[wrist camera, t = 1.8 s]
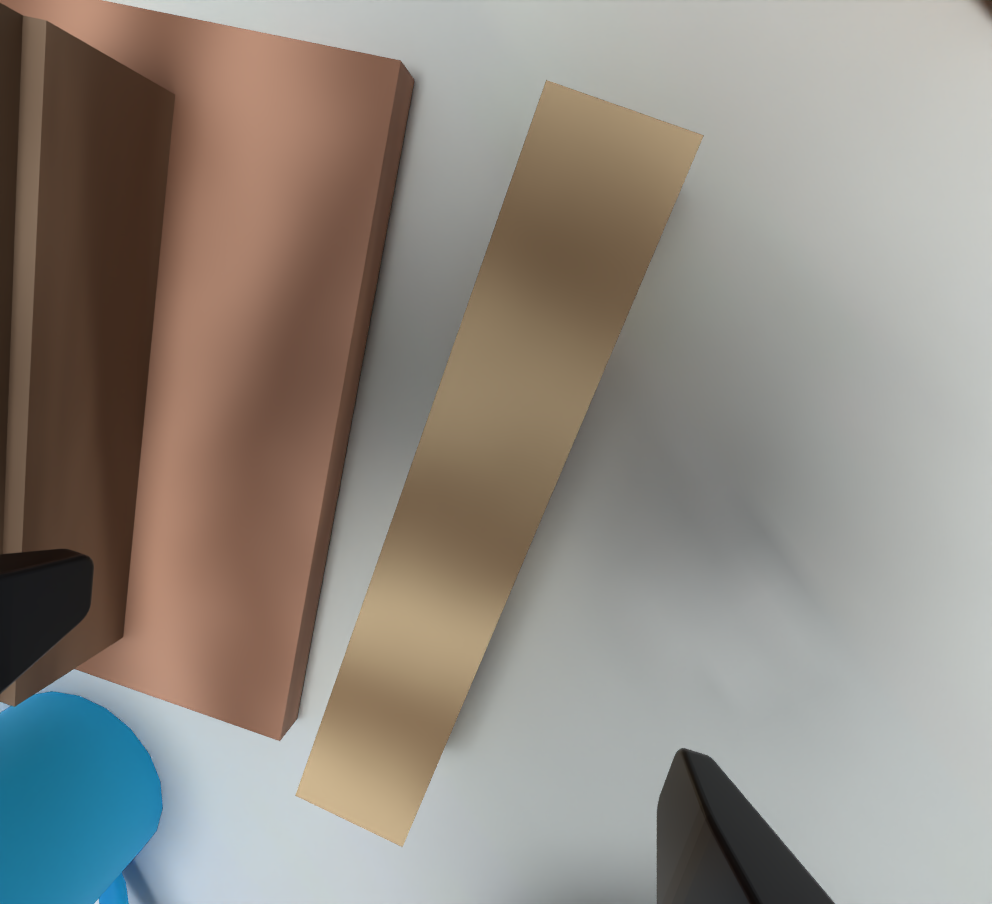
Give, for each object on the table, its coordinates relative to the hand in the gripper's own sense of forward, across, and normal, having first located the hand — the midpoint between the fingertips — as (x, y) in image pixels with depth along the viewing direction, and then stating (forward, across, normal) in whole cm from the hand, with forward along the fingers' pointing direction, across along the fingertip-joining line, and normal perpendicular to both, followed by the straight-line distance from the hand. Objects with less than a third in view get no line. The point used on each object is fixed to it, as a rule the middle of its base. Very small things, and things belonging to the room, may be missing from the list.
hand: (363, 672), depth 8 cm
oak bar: (+11, 0, 0) cm, 11 cm away
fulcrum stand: (+11, +13, 0) cm, 17 cm away
